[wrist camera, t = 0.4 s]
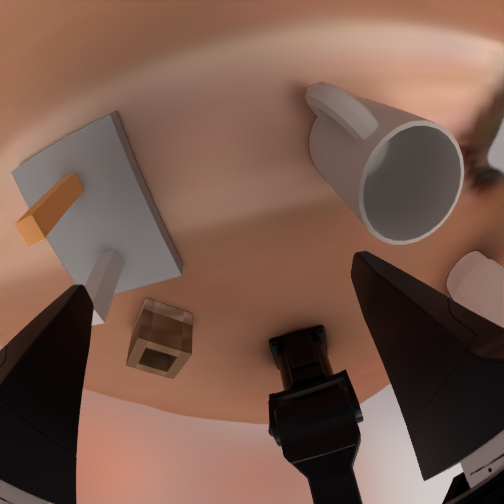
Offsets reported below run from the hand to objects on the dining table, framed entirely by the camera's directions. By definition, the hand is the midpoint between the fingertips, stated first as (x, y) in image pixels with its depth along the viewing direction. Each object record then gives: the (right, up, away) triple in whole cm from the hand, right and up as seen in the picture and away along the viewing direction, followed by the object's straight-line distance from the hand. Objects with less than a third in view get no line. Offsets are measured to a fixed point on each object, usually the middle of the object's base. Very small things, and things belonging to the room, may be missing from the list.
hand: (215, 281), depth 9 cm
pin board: (-11, +4, +12) cm, 17 cm away
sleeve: (-8, -6, +20) cm, 22 cm away
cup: (+8, +10, +11) cm, 17 cm away
